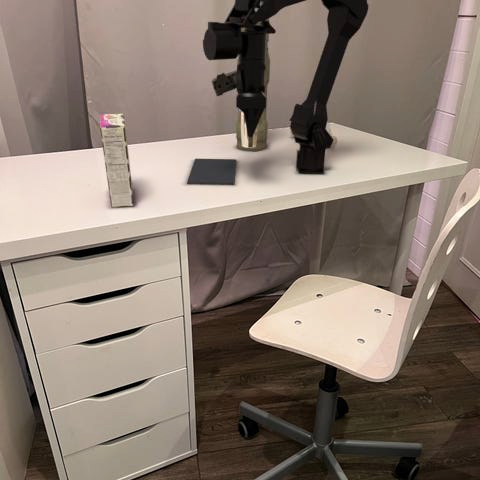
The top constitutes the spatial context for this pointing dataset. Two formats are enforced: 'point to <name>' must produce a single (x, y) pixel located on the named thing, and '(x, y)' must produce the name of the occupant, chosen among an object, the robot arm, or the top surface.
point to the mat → (213, 172)
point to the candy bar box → (116, 160)
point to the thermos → (262, 123)
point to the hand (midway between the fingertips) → (250, 134)
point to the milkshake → (246, 141)
